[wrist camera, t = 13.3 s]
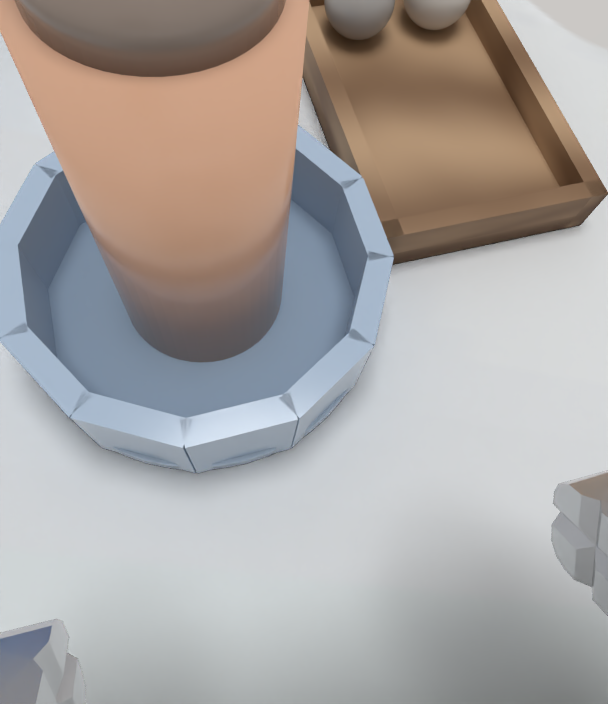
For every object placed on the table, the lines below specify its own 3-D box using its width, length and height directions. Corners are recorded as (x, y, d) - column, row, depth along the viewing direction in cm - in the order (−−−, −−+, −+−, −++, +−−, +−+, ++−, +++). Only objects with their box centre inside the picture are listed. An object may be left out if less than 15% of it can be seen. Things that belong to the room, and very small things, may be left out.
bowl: (416, 418, 20) (448, 384, 16) (54, 514, 17) (8, 497, 14) (317, 149, 24) (327, 80, 21) (16, 199, 22) (-26, 131, 18)
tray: (580, 224, 23) (608, 193, 22) (374, 268, 22) (385, 238, 20) (455, -6, 28) (469, -48, 26) (279, 15, 27) (281, -27, 25)
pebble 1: (396, 51, 25) (413, -15, 22) (331, 60, 25) (341, -7, 22) (374, 5, 26) (388, -64, 24) (312, 13, 26) (319, -57, 23)
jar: (300, 341, 19) (360, 12, 8) (140, 379, 18) (-28, 61, 7) (260, 213, 21) (266, -192, 10) (113, 242, 20) (-52, -172, 9)
